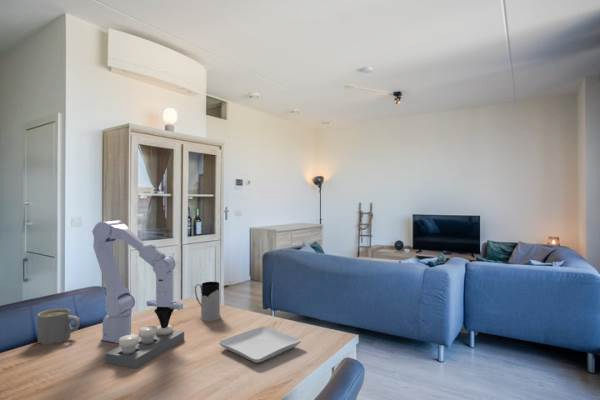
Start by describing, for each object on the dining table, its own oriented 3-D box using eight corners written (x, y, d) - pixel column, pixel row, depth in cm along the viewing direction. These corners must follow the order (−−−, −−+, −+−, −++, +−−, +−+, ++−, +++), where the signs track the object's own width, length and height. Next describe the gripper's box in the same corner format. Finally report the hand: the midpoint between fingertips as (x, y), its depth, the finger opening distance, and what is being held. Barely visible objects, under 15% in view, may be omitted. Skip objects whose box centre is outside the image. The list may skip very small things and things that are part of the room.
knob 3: (152, 342, 131) (152, 328, 131) (163, 336, 137) (163, 323, 137) (165, 344, 130) (165, 330, 130) (175, 338, 135) (175, 325, 135)
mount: (105, 362, 116) (105, 353, 116) (157, 335, 138) (157, 327, 138) (135, 368, 112) (135, 358, 112) (184, 339, 135) (184, 331, 135)
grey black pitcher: (209, 322, 153) (210, 287, 153) (187, 316, 161) (187, 282, 161) (224, 316, 160) (225, 282, 160) (202, 311, 168) (202, 278, 168)
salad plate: (216, 350, 126) (216, 340, 126) (263, 333, 142) (263, 324, 142) (256, 370, 112) (256, 359, 112) (303, 349, 127) (303, 339, 127)
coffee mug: (30, 344, 130) (30, 316, 130) (50, 333, 140) (50, 307, 140) (67, 344, 129) (67, 316, 129) (84, 334, 139) (84, 308, 139)
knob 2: (135, 345, 123) (135, 330, 123) (147, 339, 129) (147, 325, 129) (148, 347, 122) (148, 332, 122) (160, 341, 127) (160, 327, 127)
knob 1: (115, 355, 115) (115, 340, 115) (128, 348, 121) (128, 333, 121) (129, 358, 114) (129, 342, 113) (142, 351, 119) (142, 335, 119)
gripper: (188, 289, 134) (188, 325, 135) (155, 286, 139) (156, 321, 139) (175, 294, 128) (175, 332, 128) (142, 290, 132) (142, 327, 133)
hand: (164, 327), depth 133 cm, fingers closed, pressing on knob 3
